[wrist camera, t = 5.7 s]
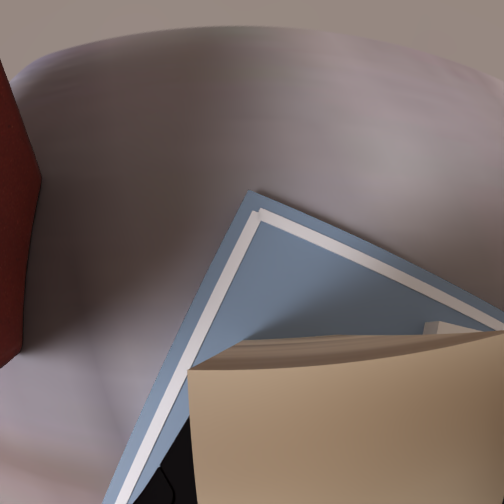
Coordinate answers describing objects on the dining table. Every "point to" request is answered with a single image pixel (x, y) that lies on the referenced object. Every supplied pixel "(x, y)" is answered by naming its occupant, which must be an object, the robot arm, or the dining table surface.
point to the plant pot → (14, 218)
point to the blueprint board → (286, 311)
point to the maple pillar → (351, 420)
